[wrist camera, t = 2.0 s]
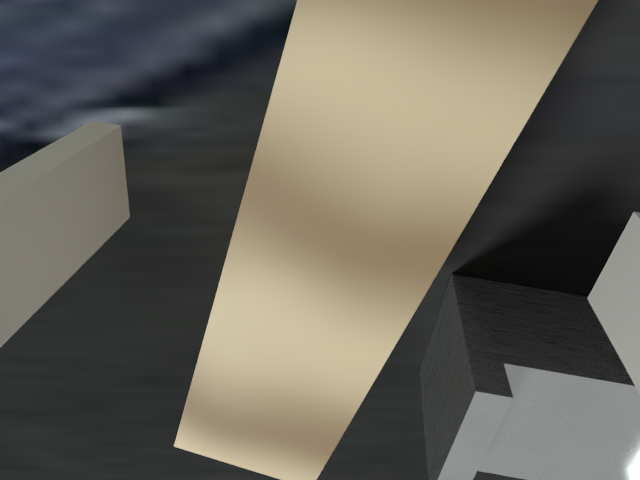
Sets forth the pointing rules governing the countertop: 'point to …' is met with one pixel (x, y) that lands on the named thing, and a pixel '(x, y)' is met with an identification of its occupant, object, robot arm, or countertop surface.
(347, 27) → the rail
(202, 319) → the countertop surface
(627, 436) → the block
